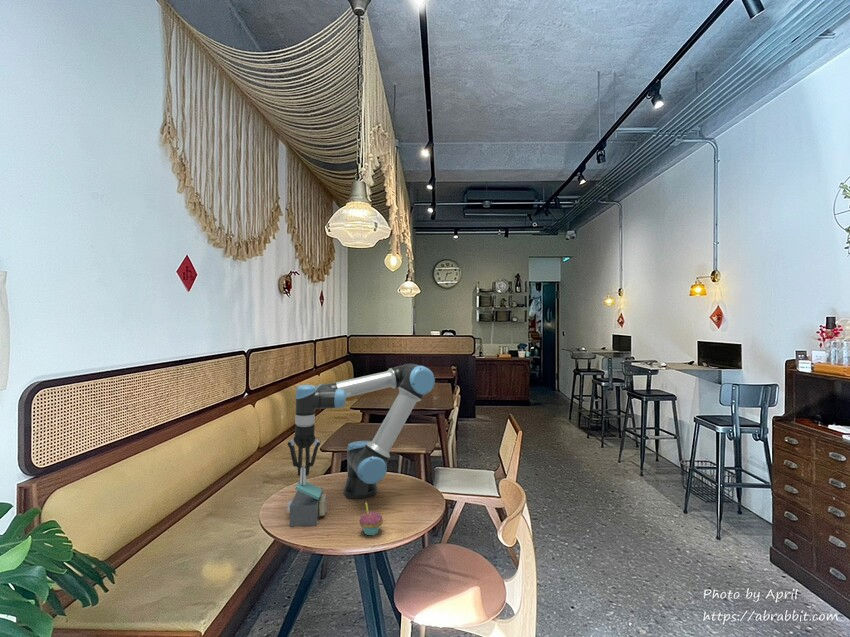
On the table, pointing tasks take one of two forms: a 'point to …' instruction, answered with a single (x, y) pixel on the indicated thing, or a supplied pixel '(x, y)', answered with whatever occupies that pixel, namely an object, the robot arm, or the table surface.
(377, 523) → the cupcake
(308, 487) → the teal rectangular plate
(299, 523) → the grey block
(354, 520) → the table surface
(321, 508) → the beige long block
